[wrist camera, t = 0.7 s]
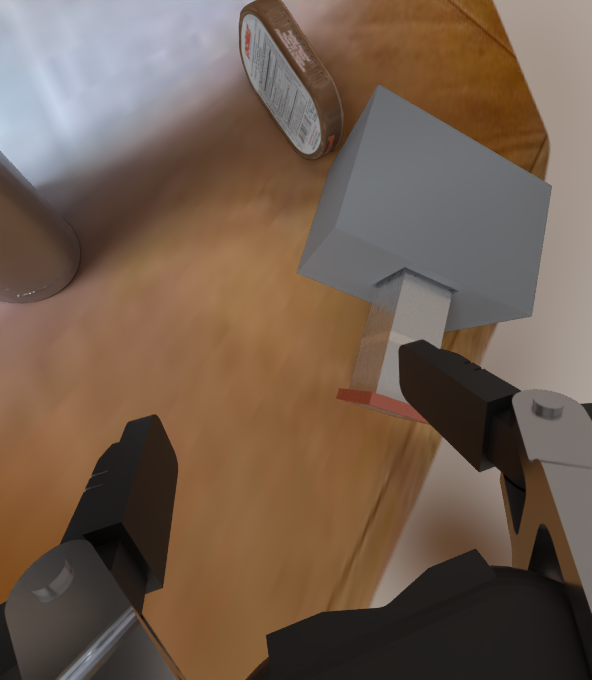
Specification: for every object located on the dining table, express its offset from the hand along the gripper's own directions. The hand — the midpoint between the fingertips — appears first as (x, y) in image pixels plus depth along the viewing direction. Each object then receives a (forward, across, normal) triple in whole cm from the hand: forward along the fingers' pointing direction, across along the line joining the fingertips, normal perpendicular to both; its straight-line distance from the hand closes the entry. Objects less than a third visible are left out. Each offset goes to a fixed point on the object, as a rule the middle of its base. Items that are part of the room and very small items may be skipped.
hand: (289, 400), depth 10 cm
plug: (+18, -13, +8) cm, 24 cm away
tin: (+34, -9, -14) cm, 38 cm away
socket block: (+27, -18, +2) cm, 33 cm away
